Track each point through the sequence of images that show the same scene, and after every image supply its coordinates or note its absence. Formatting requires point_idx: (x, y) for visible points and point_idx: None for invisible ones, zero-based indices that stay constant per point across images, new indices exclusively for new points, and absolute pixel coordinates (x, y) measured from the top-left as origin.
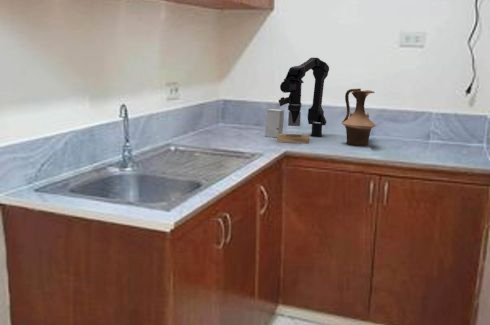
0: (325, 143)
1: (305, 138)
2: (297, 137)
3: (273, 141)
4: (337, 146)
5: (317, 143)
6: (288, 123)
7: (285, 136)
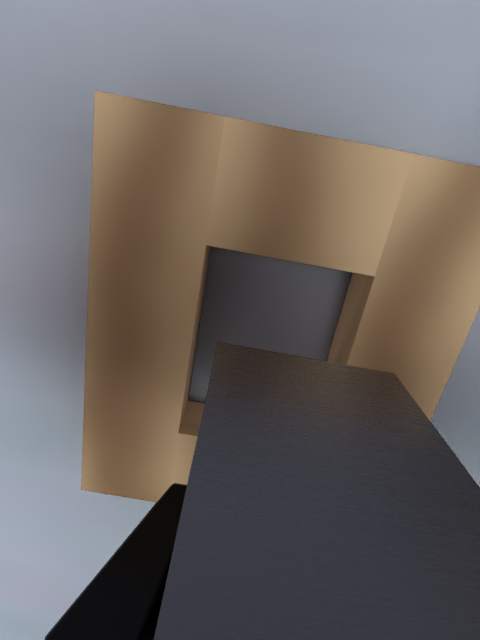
0: None
1: (84, 459)
2: (124, 387)
3: (158, 51)
4: (7, 610)
5: (119, 517)
6: (214, 372)
7: (186, 241)
